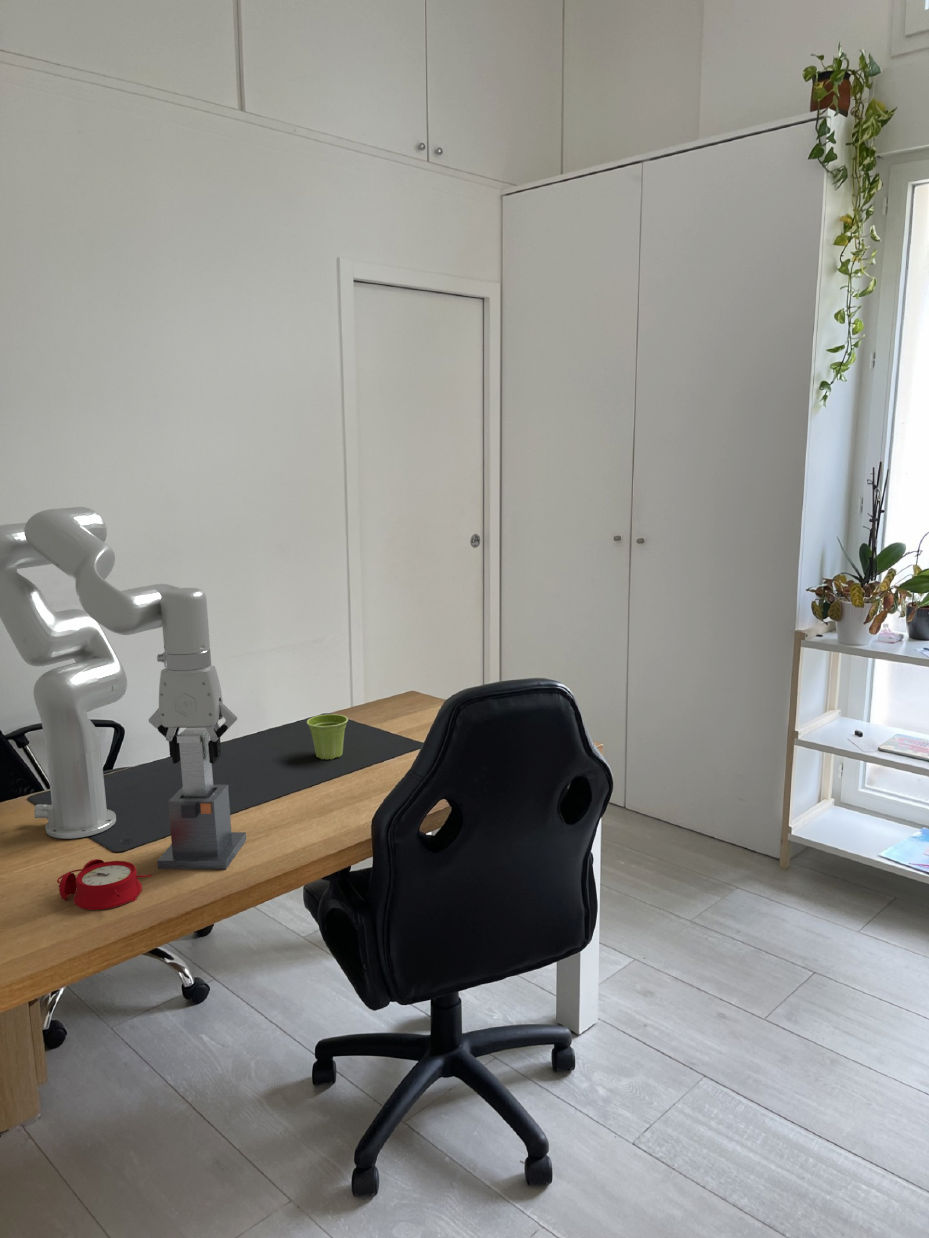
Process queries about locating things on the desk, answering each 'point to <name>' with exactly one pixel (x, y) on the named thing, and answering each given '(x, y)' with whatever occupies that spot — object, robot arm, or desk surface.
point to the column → (195, 763)
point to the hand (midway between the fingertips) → (196, 760)
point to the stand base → (201, 832)
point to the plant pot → (328, 735)
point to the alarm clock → (102, 884)
